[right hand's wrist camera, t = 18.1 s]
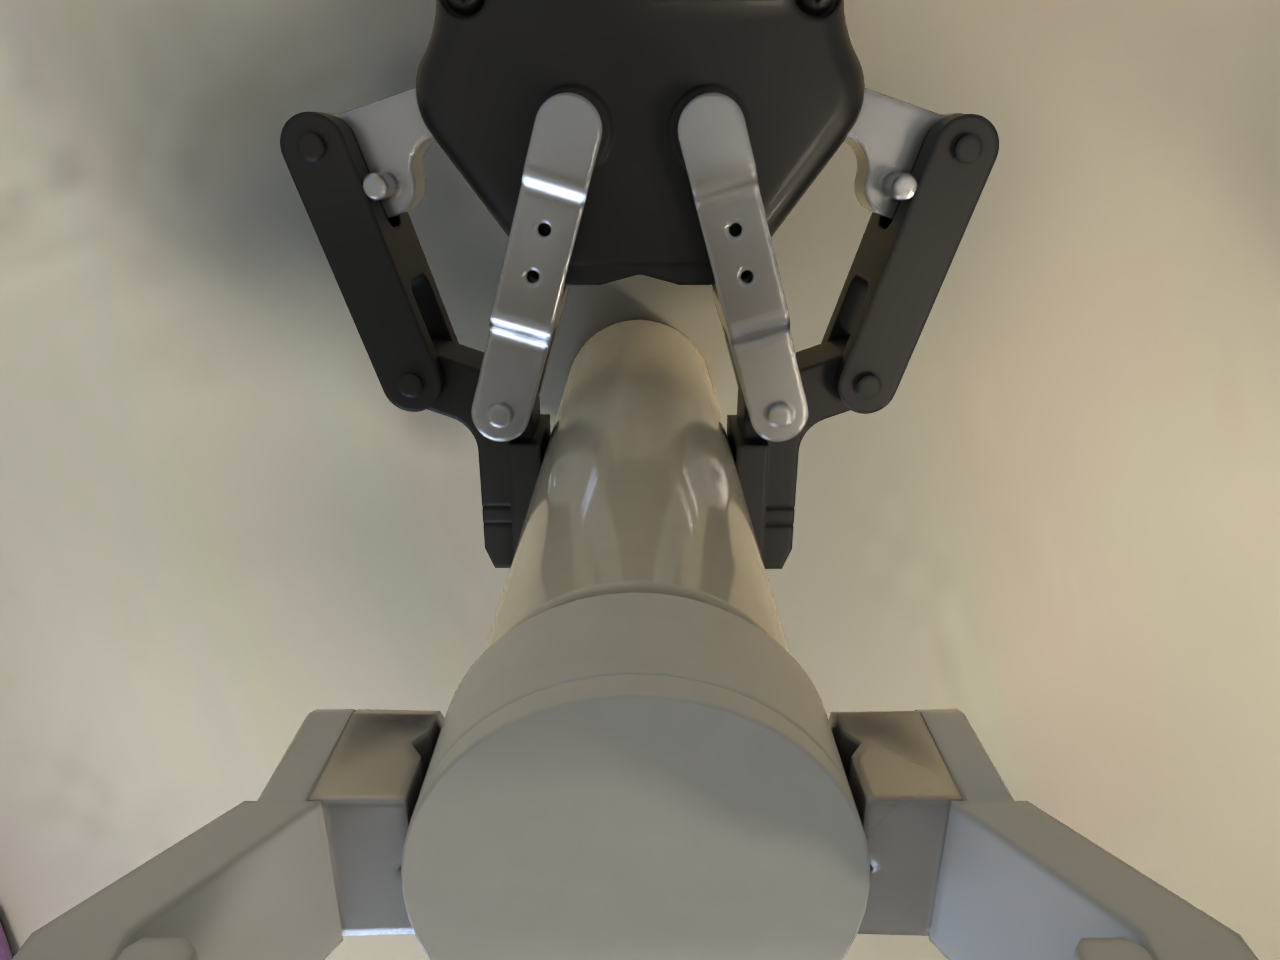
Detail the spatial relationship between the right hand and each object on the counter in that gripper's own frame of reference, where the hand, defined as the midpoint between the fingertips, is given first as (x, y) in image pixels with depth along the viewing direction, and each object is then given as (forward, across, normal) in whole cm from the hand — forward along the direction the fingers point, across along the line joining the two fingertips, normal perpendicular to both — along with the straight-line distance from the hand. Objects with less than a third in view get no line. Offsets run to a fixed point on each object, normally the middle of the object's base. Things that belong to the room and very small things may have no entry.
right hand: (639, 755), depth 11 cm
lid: (-2, 0, 0) cm, 2 cm away
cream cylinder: (+17, 0, 0) cm, 17 cm away
